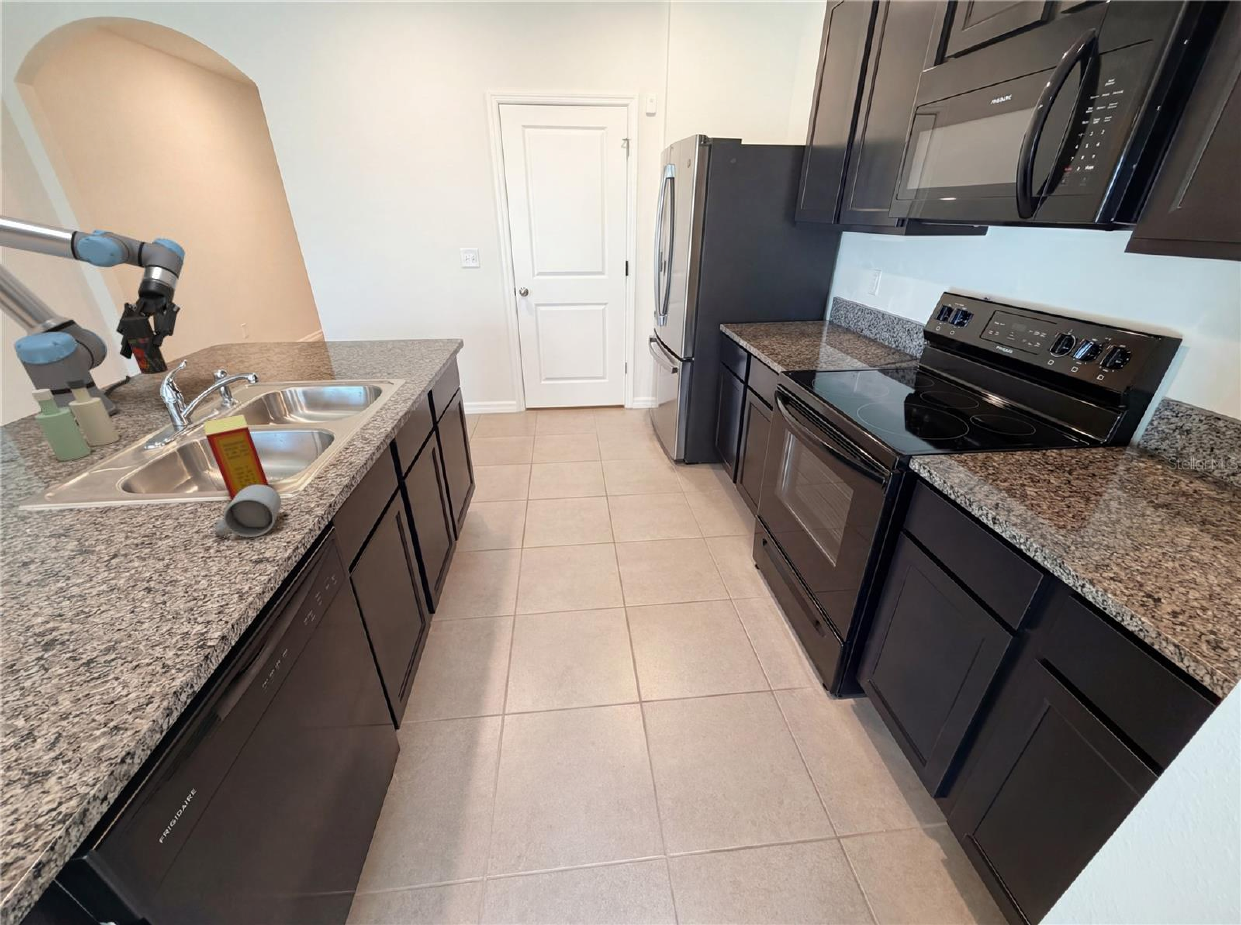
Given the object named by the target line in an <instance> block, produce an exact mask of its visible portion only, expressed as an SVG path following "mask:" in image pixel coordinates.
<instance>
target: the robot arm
mask: <svg viewBox="0 0 1241 925" xmlns="http://www.w3.org/2000/svg"><path fill="white" fill-rule="evenodd" d="M0 247H4V248H9V249H15V250H20V251H24V252H25V251H26V252H31V253H37V254H42V255H46V256H47V255H48V256H52V257H58V258H63V259H68V260H69V259H70V260H75V261H79V262H82V263H83V262H84V263H88V264H90V265H92V266H94V267H99V268H113V267H116V266H118V265H123V264H125V265H130V266H134V267H137V268H142V269H144V270H143V271H144V272H143V273H142V277H141V280H140V281H141V282H140V283H139V286H138V290H137V296H138V299H137V300H136V301H135V302H134V303H129V302H124V304H123V307H124V308H123V312H122V314H121V317H120V319H123V318H129V317H148V320H149V319H150V318H151V317H152V320H153V329H152V330H153V332H154V333H151V335H150V338H149V342H148V345H147V348H146V352H145V354H146V355H148V356H150V357H151V358H153V359H156V356H157V353H158V349H159V348H161V347H162V345H163V342H164V340H165V338H166V337H172V336H173V335H174V331H175V327H176V321H177V317H178V314H179V312H180V310H181V307H180V306H179V305H178V304H176V303H175V302H174V297H175V292H176V290H177V286H178V282H179V279H180V275H181V272H182V269H183V266H184V261H185V255H186V252H185V249H184V248H183V247H182V246H181V245H180V244H179V243H177V242H176V241H174V240H171V239H169V238H164V237H163V238H161V237H157V238H155V239H153V241H152V242H148V241H142V240H139V239H135V238H131V237H128V236H125V235H121V234H117V233H114V232H112V231H106V230H102V229H94V230H93V231H92V232H91V233H89V232H84V231H78V230H74V229H69V228H64V227H61V226H55V225H51V224H45V223H42V222H41V223H40V222H37V221H36V222H35V221H31V220H27V219H23V218H18V217H12V216H9V215H8V216H7V215H2V214H0ZM0 310H1V311H2V313H4V314H5V315H6V316H8V318H10V319H11V320H13V322H15V323H16V324H17V325H18V326H19V327H20V328H22V329H23V330H24V331H25V332H26V336H23V337H21V338H19V339H17V340H16V341H15V342H14V344H13V348H14V350H15V353H16V358H17V359H18V360H19V361H20V363H21V365H22V366H23V369H24V370H25V372H26V374H27V376H28V377H29V379H30V381H31V382H32V386H34V388H35V390H40V389H50V391H51V393H52V395H53V397H54V398H53V399H54V401H55V403H56V405H57V407H58V409H69V410H70V412H71V414H72V416H73V418H74V420H75V422H76V424H77V425H79V423H78V422H77V420H76V418H75V416H74V414H73V412H72V410H71V408H70V406H69V403H70V402H73V401H76V398H75V396H74V394H73V392H72V390H71V389H69V387H68V385H67V383H66V381H67V380H70V379H75V378H82V379H83V380H84V382H85V384H86V389H87V391H88V393H89V395H90V397H91V398H95V397H96V398H101V400H102V402H103V405H104V407H105V409H106V411H107V413H108V415H109V417H110V416H113V415H114V414H116V413H117V412H118V409H117V407H116V405H115V404H114V403H113V402H112V400H111V399H109V397H108V396H107V395H109V393H110V392H111V391H112V390H113V389H115V388H117V387H119V386H122V385H124V384H126V383H128V382H129V380H130V379H131V376H130V375H128V374H126V375H125V379H124V380H122V381H120V382H121V383H120V382H118V383H115V384H113V385H111V386H110V387H109V388H107V389H106V390H105V392H102V390H101V389H100V388H99V387H98V386H97V384H96V382H95V380H94V377H93V375H92V374H91V372H90V371H91V370H94V369H95V368H97V367H99V366H101V364H103V362H104V361H105V360H106V358H107V356H108V346H107V344H106V342H105V341H104V339H103V338H102V337H101V336H100V335H99V334H97V333H96V332H95V331H92V330H90V329H86V328H83V327H81V325H80V324H78V323H77V322H76V321H75V320H74V319H73V318H71V317H66V316H62V315H60V314H59V313H57V312H56V311H55V310H54V309H53V308H52V307H51V306H50V305H48V304H47V303H46V301H44V300H43V299H42V298H41V297H40V296H39V295H38V294H36V293H35V292H34V291H33V290H32V289H31V288H30V287H28V286H27V285H26V283H24V282H23V281H22V280H21V279H19V278H18V277H17V276H16V274H14V273H13V272H12V271H11V270H10V269H8V268H7V267H6V266H5V265H4V264H3V263H2V262H1V261H0ZM115 332H116V333H118V334H119V335H121V336H122V338H121V341H120V345H121V348H120V351H119V355H120V356H122V357H124V358H125V359H127V360H131V359H132V356H133V352H132V349H131V347H130V345H129V342H128V340H127V337H126V335H125V333H124V330H123V328H122V325H121V323H120V321H119V322H118V325H117V328H116V330H115ZM40 413H43V411H42V410H41V409H40Z"/></svg>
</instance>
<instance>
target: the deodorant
mask: <svg viewBox="0 0 1241 925" xmlns="http://www.w3.org/2000/svg"><path fill="white" fill-rule="evenodd" d="M119 322H120V323H121V325H122V328H123V330H124V333H125V335H126V337H127V340H128V342H129V345H130V347H131V349H132V352H133V353H132V355H133V357H134V359H135V361H136V364H137V366H138V368H139V371H140V373H141V375H154V374H156V375H157V374H162V373H165V372H167V371H169V369H168V366H167V363H166V361H165V358H164V356H163V353H162V350H161V347H159V349H158V353H157V356H156V359H153V358H151V357H150V356H148V355H146V354H145V352H146V348H147V345H148V342H149V338H150V335H151V333H154V332H153V330H154V329H153V327H152V325H151V322H150V320H149V319H148V317H129V318H123V319H121V318H119ZM154 334H155V333H154Z"/></svg>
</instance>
